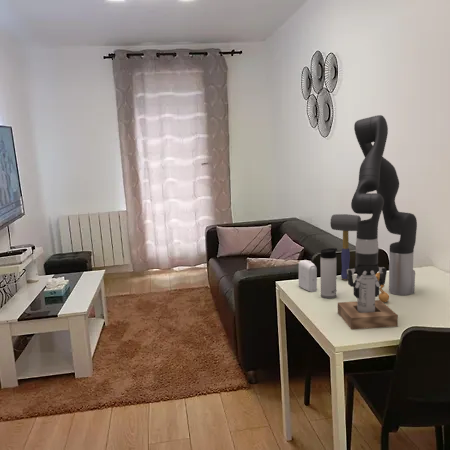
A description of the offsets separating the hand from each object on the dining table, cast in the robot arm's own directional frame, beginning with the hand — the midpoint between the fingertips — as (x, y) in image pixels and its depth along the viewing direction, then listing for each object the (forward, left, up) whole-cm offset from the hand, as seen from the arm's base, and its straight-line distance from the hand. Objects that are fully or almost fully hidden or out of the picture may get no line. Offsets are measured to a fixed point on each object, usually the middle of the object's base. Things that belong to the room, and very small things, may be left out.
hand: (366, 296), depth 174 cm
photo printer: (+12, -39, -9) cm, 42 cm away
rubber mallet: (-8, -49, -9) cm, 50 cm away
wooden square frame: (0, 0, -8) cm, 8 cm away
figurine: (-12, -17, -9) cm, 22 cm away
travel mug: (+6, -27, -9) cm, 29 cm away
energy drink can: (0, 0, -7) cm, 7 cm away
